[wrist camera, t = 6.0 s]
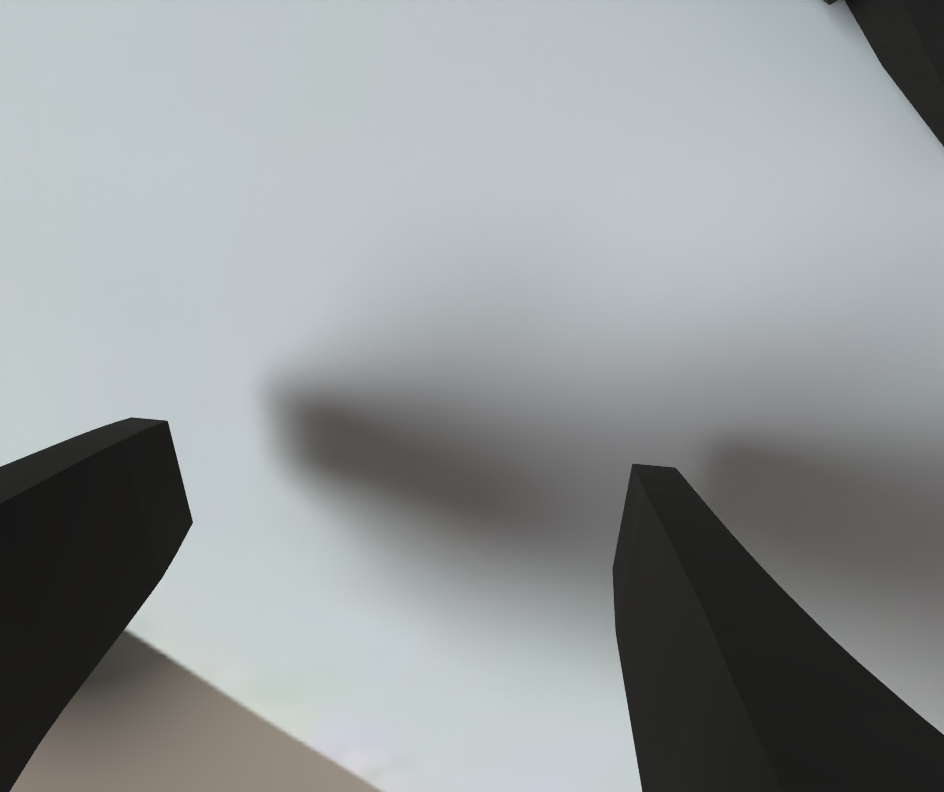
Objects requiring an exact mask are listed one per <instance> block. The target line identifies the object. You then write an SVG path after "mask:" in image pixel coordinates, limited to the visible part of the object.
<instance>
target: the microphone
mask: <svg viewBox="0 0 944 792" xmlns="http://www.w3.org/2000/svg"><path fill="white" fill-rule="evenodd" d="M824 1H825V2H826V3H827V4H829V5H830V4H832V3H834V2H835V1H837V0H824ZM845 2H846V3H847V5H848V7H849V9H850V10H851V12H852V14H853V16H854V17H855V19H856V21H857V22H858V24H859V26H860V28H861V29H862V31H863V33H864V35H865V36H866V38H867V40H868V42H869V43H870V45H871V47H872V49H873V50H874V52H875V54H876V56H877V57H878V59H879V61H880V63H881V64H882V66H883V67H884V69H885V70H886V71H887V73H888V74H889V75H890V77H891V78H892V79H893V80H894V82H895V83H896V84H897V86H898V87H899V88H900V90H901V91H902V92H903V94H904V95H905V96H906V98H907V99H908V100H909V101H910V103H911V104H912V105H913V107H914V108H915V109H916V111H917V112H918V113H919V115H920V116H921V117H922V119H923V120H924V121H925V123H926V124H927V125H928V126H929V128H930V129H931V130H932V132H933V133H934V134H935V136H936V137H937V138H938V140H939V141H940V142H941V144H942V145H943V146H944V0H845Z"/></svg>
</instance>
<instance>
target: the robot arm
mask: <svg viewBox="0 0 944 792" xmlns="http://www.w3.org/2000/svg"><path fill="white" fill-rule="evenodd" d="M192 523H193V521H192V517H191V513H190V509H189V505H188V501H187V497H186V493H185V489H184V485H183V481H182V477H181V473H180V469H179V465H178V461H177V457H176V453H175V449H174V445H173V441H172V437H171V433H170V429H169V425H168V421H164V420H153V419H142V418H128V419H125V420H121V421H118V422H115V423H112V424H109V425H106V426H103V427H100V428H97V429H95V430H92V431H89V432H86V433H84V434H81V435H79V436H76V437H73V438H71V439H68V440H66V441H63V442H61V443H58V444H56V445H53V446H51V447H48V448H46V449H43V450H41V451H38V452H36V453H33V454H31V455H29V456H26V457H24V458H21V459H19V460H16V461H14V462H11V463H9V464H6V465H4V466H1V467H0V792H9V791H10V790H11V788H12V787H13V785H14V783H15V782H16V780H17V779H18V777H19V775H20V774H21V772H22V771H23V769H24V767H25V766H26V764H27V763H28V761H29V759H30V758H31V756H32V755H33V753H34V751H35V750H36V748H37V747H38V745H39V744H40V742H41V741H42V739H43V737H44V736H45V735H46V733H47V732H48V730H49V729H50V728H51V726H52V725H53V723H54V722H55V721H56V719H57V718H58V716H59V715H60V713H61V712H62V711H63V709H64V708H65V707H66V705H67V704H68V703H69V701H70V700H71V699H72V697H73V696H74V695H75V693H76V692H77V691H78V689H79V688H80V687H81V685H82V684H83V683H84V681H85V680H86V679H87V677H88V676H89V675H90V674H91V672H92V671H93V670H94V668H95V667H96V666H97V664H98V663H99V662H100V660H101V659H102V658H103V656H104V655H105V654H106V652H107V651H108V650H109V649H110V647H111V646H112V645H113V643H114V642H115V641H116V639H117V638H118V637H119V635H120V634H121V633H122V631H123V630H124V629H125V628H126V626H127V625H128V624H129V622H130V621H131V620H132V618H133V617H134V616H135V614H136V613H137V611H138V610H139V609H140V607H141V606H142V605H143V603H144V602H145V601H146V599H147V598H148V597H149V595H150V594H151V593H152V591H153V590H154V588H155V587H156V586H157V584H158V583H159V582H160V580H161V579H162V577H163V576H164V574H165V572H166V570H167V569H168V567H169V565H170V564H171V562H172V560H173V558H174V557H175V555H176V553H177V552H178V550H179V548H180V546H181V544H182V542H183V540H184V538H185V536H186V535H187V533H188V531H189V529H190V527H191V525H192ZM613 588H614V609H615V627H616V637H617V643H618V649H619V655H620V661H621V667H622V673H623V680H624V686H625V692H626V697H627V703H628V709H629V715H630V721H631V727H632V733H633V739H634V745H635V750H636V756H637V762H638V768H639V774H640V780H641V786H642V792H944V735H943V734H942V733H941V732H940V731H938V730H937V729H936V728H935V727H933V726H932V725H931V724H930V723H928V722H927V721H926V720H925V719H924V718H922V717H921V716H920V715H919V714H918V713H916V712H915V711H914V710H913V709H912V708H911V707H909V706H908V705H907V704H906V703H905V702H904V701H903V700H901V699H900V698H899V697H898V696H897V695H896V694H894V693H893V692H892V691H891V690H890V689H889V688H888V687H886V686H885V685H884V684H883V683H882V682H881V681H879V680H878V679H877V678H876V677H875V676H874V675H873V674H871V673H870V672H869V671H868V670H867V669H866V668H864V667H863V666H862V665H861V664H860V663H859V662H858V661H856V660H855V659H854V658H853V657H852V656H851V655H850V654H849V653H848V652H847V651H846V650H845V649H843V648H842V647H841V646H840V645H839V644H838V643H837V642H836V641H835V640H834V639H833V638H832V637H831V636H829V635H828V634H827V633H826V632H825V631H824V630H823V629H822V628H821V627H820V626H819V625H818V624H817V623H816V622H815V621H814V620H813V619H812V618H811V617H810V616H809V615H808V614H807V613H806V612H805V611H804V610H803V609H802V608H801V607H800V606H799V605H798V604H797V603H796V602H795V601H794V600H793V599H792V598H791V597H790V596H789V595H788V594H787V593H786V592H785V591H784V590H783V589H782V588H781V587H780V586H779V585H778V584H777V583H776V582H775V581H774V580H773V579H772V578H771V577H770V575H769V574H768V573H767V572H766V571H765V570H764V569H763V568H762V567H761V566H760V565H759V564H758V563H757V562H756V560H755V559H754V558H753V557H752V556H751V555H750V554H749V553H748V552H747V551H746V549H745V548H744V547H743V546H742V545H741V544H740V543H739V542H738V541H737V539H736V538H735V537H734V536H733V535H732V534H731V533H730V531H729V530H728V529H727V528H726V527H725V526H724V525H723V523H722V522H721V521H720V520H719V519H718V518H717V516H716V515H715V514H714V513H713V512H712V511H711V509H710V508H709V507H708V506H707V505H706V503H705V502H704V501H703V500H702V499H701V497H700V496H699V495H698V494H697V493H696V492H695V490H694V489H693V488H692V487H691V486H690V484H689V483H688V482H687V481H686V480H685V478H684V477H683V476H682V475H681V474H680V473H679V471H678V470H677V469H676V468H672V467H661V466H650V465H639V464H632V469H631V474H630V479H629V485H628V490H627V495H626V501H625V506H624V511H623V516H622V522H621V527H620V532H619V538H618V543H617V548H616V554H615V559H614V564H613Z"/></svg>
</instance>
